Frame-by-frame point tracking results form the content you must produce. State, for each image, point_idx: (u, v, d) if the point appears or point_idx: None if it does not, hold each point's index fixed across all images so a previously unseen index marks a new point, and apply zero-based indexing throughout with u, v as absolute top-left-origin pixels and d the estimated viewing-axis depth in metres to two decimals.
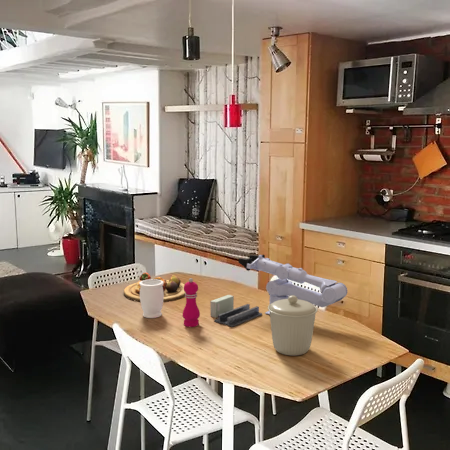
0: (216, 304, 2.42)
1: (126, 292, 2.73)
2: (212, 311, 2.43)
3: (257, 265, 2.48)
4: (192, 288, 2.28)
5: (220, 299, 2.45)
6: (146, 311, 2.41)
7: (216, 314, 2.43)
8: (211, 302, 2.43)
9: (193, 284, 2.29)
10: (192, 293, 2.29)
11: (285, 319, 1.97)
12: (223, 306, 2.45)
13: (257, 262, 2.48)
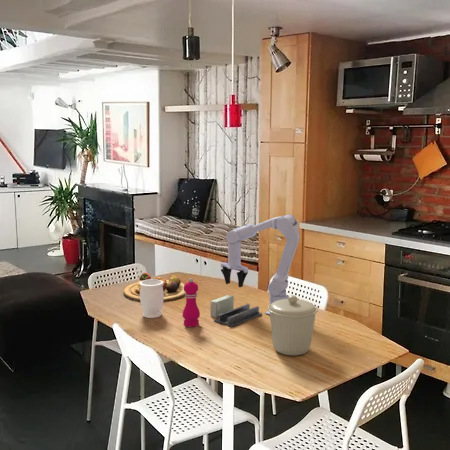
0: (216, 304, 2.42)
1: (126, 292, 2.73)
2: (212, 311, 2.43)
3: (239, 265, 2.51)
4: (192, 288, 2.28)
5: (220, 299, 2.45)
6: (146, 311, 2.41)
7: (216, 314, 2.43)
8: (211, 302, 2.43)
9: (193, 284, 2.29)
10: (192, 293, 2.29)
11: (285, 319, 1.97)
12: (223, 306, 2.45)
13: (237, 266, 2.50)
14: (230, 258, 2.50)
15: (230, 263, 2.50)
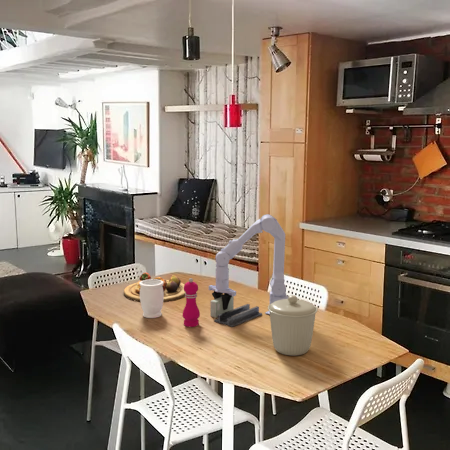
0: (216, 304, 2.42)
1: (126, 292, 2.73)
2: (212, 311, 2.43)
3: (227, 288, 2.44)
4: (192, 288, 2.28)
5: (220, 299, 2.45)
6: (146, 311, 2.41)
7: (216, 314, 2.42)
8: (211, 302, 2.43)
9: (193, 284, 2.29)
10: (192, 293, 2.29)
11: (285, 319, 1.97)
12: None
13: (224, 289, 2.43)
14: (218, 281, 2.43)
15: (218, 286, 2.43)
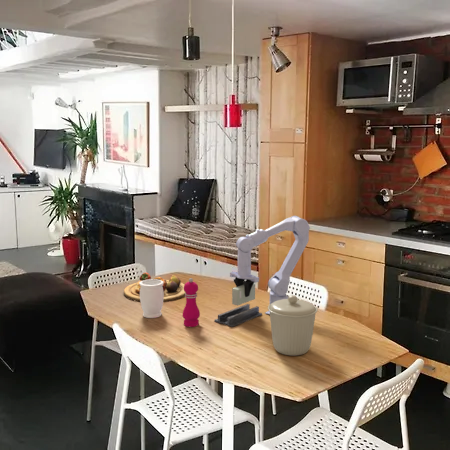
0: (238, 291, 2.37)
1: (126, 292, 2.73)
2: (234, 299, 2.38)
3: (249, 274, 2.39)
4: (192, 288, 2.28)
5: (242, 286, 2.40)
6: (146, 311, 2.41)
7: (238, 302, 2.38)
8: (233, 289, 2.38)
9: (193, 284, 2.29)
10: (192, 293, 2.29)
11: (285, 319, 1.97)
12: None
13: (247, 275, 2.38)
14: (240, 267, 2.38)
15: (240, 272, 2.38)
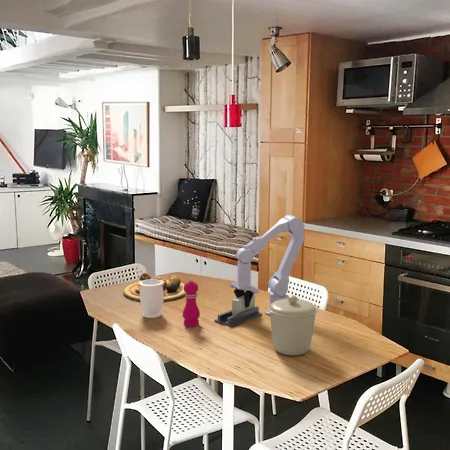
0: (238, 303, 2.38)
1: (126, 292, 2.73)
2: (234, 310, 2.39)
3: (249, 285, 2.40)
4: (192, 288, 2.28)
5: (242, 298, 2.41)
6: (146, 311, 2.41)
7: None
8: (233, 301, 2.39)
9: (193, 284, 2.29)
10: (192, 293, 2.29)
11: (285, 319, 1.97)
12: None
13: (247, 286, 2.39)
14: (240, 278, 2.39)
15: (240, 283, 2.39)
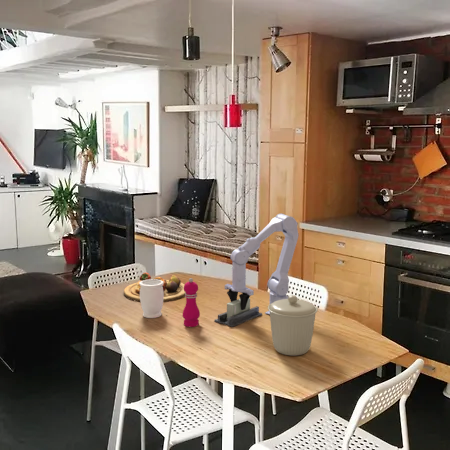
0: (233, 307, 2.35)
1: (126, 292, 2.73)
2: (228, 314, 2.37)
3: (244, 287, 2.37)
4: (192, 288, 2.28)
5: (237, 301, 2.39)
6: (146, 311, 2.41)
7: None
8: (227, 304, 2.36)
9: (193, 284, 2.29)
10: (192, 293, 2.29)
11: (285, 319, 1.97)
12: (240, 309, 2.39)
13: (241, 288, 2.36)
14: (234, 280, 2.36)
15: (234, 285, 2.37)
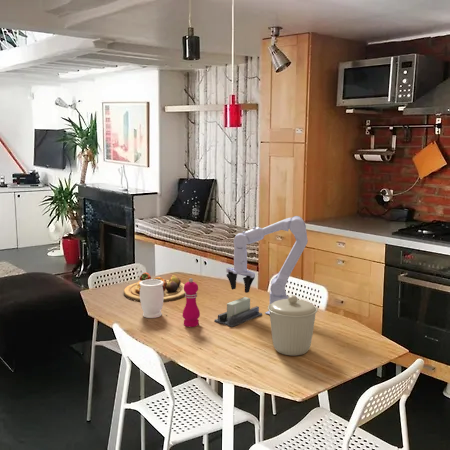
0: (233, 307, 2.35)
1: (126, 292, 2.73)
2: (228, 314, 2.37)
3: (245, 270, 2.44)
4: (192, 288, 2.28)
5: (237, 301, 2.39)
6: (146, 311, 2.41)
7: None
8: (227, 304, 2.36)
9: (193, 284, 2.29)
10: (192, 293, 2.29)
11: (285, 319, 1.97)
12: (240, 309, 2.39)
13: (243, 271, 2.43)
14: (236, 263, 2.43)
15: (236, 268, 2.44)
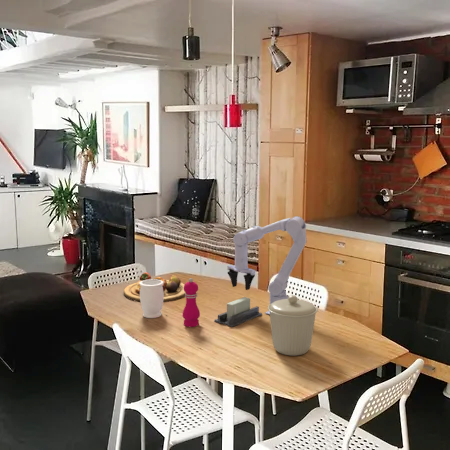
0: (233, 307, 2.35)
1: (126, 292, 2.73)
2: (228, 314, 2.37)
3: (246, 267, 2.48)
4: (192, 288, 2.28)
5: (237, 301, 2.39)
6: (146, 311, 2.41)
7: None
8: (227, 304, 2.36)
9: (193, 284, 2.29)
10: (192, 293, 2.29)
11: (285, 319, 1.97)
12: (240, 309, 2.39)
13: (243, 268, 2.47)
14: (237, 261, 2.47)
15: (237, 266, 2.48)
